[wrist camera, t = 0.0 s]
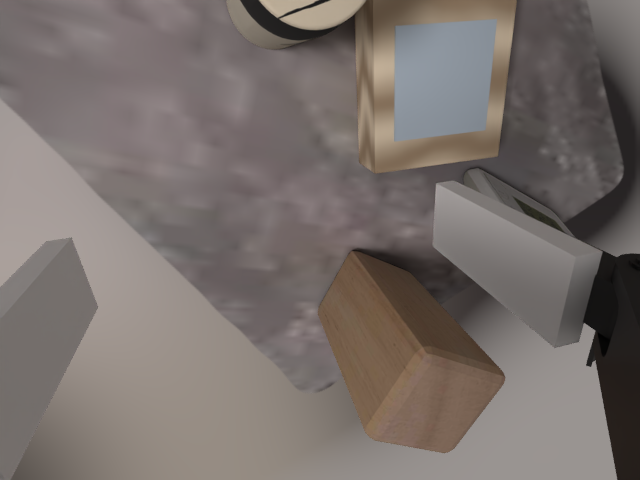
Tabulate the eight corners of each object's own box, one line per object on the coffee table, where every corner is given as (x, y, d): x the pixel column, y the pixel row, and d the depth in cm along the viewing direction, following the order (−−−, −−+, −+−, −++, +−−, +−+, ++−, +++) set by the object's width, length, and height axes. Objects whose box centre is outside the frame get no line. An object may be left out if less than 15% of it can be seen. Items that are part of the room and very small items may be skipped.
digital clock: (551, 215, 53) (623, 246, 44) (505, 264, 55) (565, 305, 45) (484, 143, 46) (552, 162, 37) (433, 202, 48) (486, 235, 38)
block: (412, 270, 51) (514, 378, 33) (375, 330, 54) (452, 459, 36) (349, 245, 47) (427, 351, 30) (313, 310, 50) (364, 444, 32)
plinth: (354, -4, 37) (373, -14, 32) (485, -11, 39) (520, -21, 35) (359, 162, 43) (376, 174, 39) (470, 147, 46) (499, 156, 41)
